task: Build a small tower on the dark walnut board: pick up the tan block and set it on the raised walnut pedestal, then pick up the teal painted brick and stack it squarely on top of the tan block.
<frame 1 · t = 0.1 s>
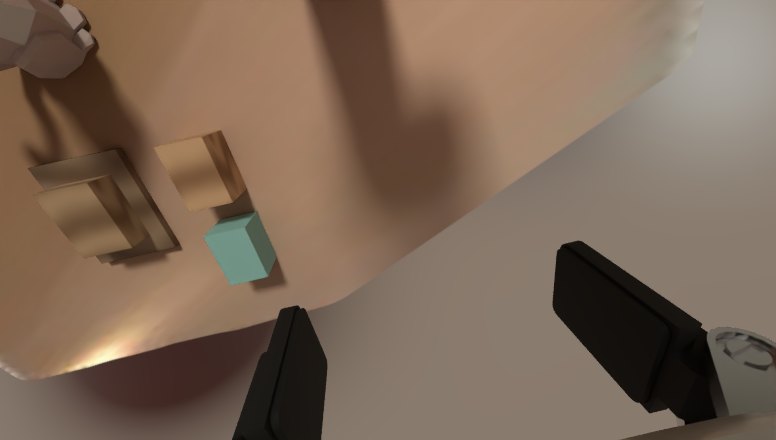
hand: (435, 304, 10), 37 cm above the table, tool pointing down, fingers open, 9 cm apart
tan block: (215, 164, 43), on the table
toy: (33, 46, 35), on the table
teal brick: (250, 238, 48), on the table
pedestal board: (113, 207, 44), on the table
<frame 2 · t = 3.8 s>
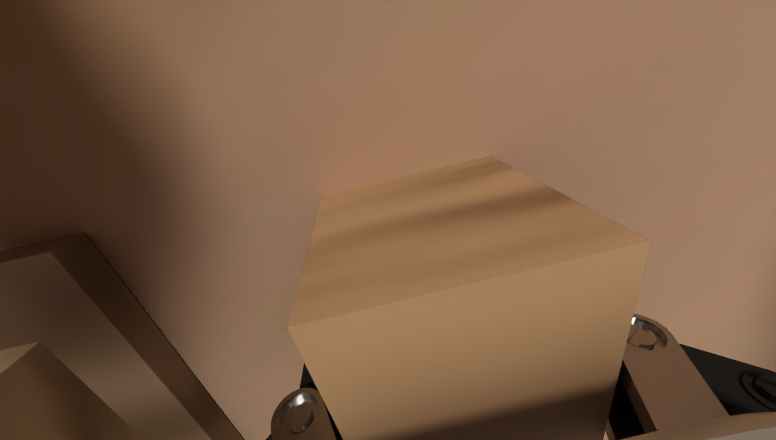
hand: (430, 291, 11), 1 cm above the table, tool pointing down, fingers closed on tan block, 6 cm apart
tan block: (425, 277, 12), on the table, touching gripper
pedestal board: (69, 413, 13), on the table
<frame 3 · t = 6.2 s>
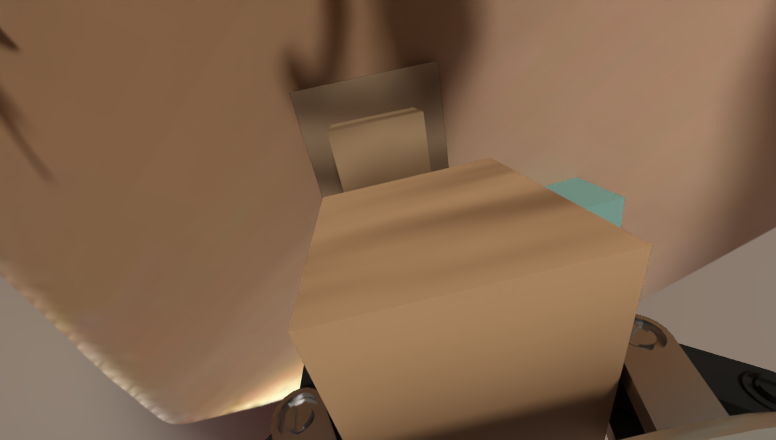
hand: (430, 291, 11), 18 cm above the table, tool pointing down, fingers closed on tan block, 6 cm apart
tan block: (425, 278, 12), point 17 cm above the table, touching gripper
teal brick: (548, 221, 32), on the table
pedestal board: (382, 169, 27), on the table
when the fingers open (7 cm above the table, at t = 8.6 s): tan block stays where it is, resting on pedestal board.
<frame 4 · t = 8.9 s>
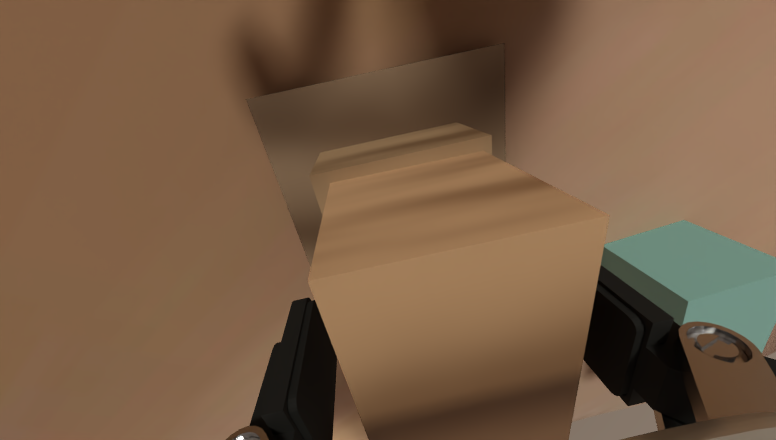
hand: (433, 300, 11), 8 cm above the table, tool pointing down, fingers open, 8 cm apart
tan block: (422, 262, 13), point 5 cm above the table, touching pedestal board
teal brick: (634, 279, 22), on the table
pedestal board: (401, 215, 18), on the table
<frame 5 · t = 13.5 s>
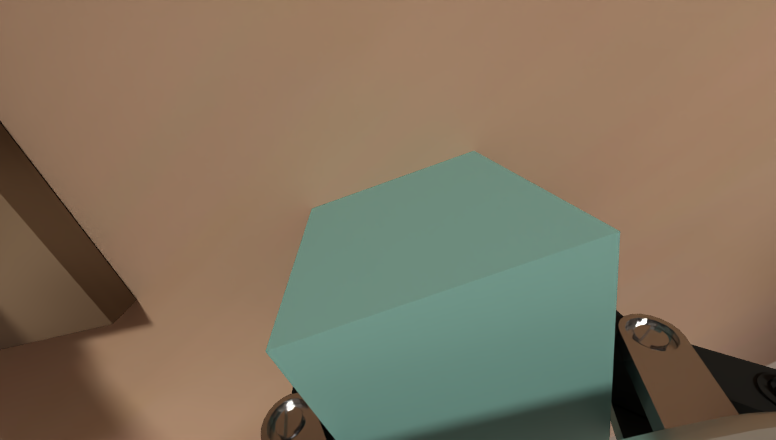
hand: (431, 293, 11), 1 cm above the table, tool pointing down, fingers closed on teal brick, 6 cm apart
teal brick: (425, 277, 12), on the table, touching gripper
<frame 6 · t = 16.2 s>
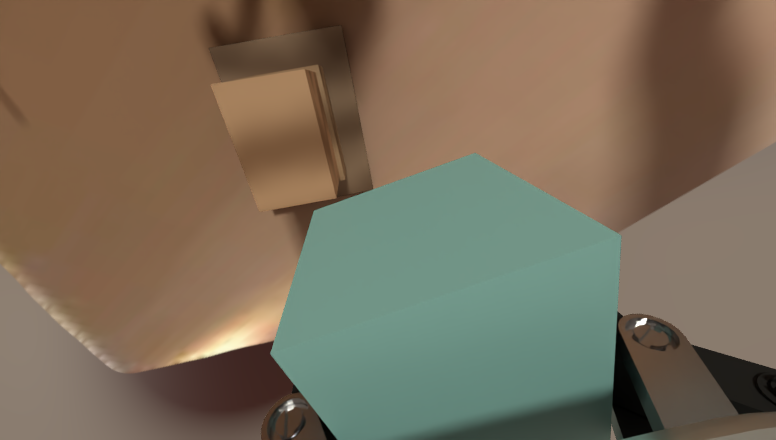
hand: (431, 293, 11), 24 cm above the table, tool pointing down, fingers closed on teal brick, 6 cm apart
tan block: (295, 133, 26), point 5 cm above the table, touching pedestal board
teal brick: (426, 278, 12), point 23 cm above the table, touching gripper
pedestal board: (303, 126, 30), on the table
when the fingers open (13 cm above the table, at t = 19.1 s): teal brick stays where it is, resting on tan block.
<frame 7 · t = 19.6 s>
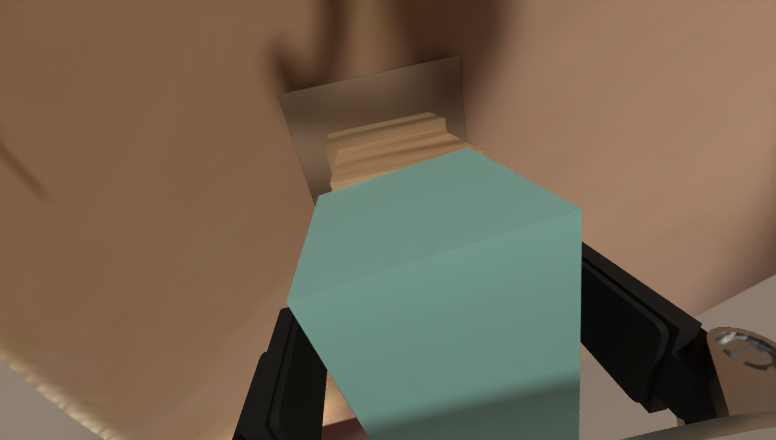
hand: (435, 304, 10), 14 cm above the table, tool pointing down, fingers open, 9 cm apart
tan block: (401, 210, 18), point 5 cm above the table, touching pedestal board, teal brick
teal brick: (420, 263, 13), point 11 cm above the table, touching tan block
pedestal board: (390, 184, 23), on the table
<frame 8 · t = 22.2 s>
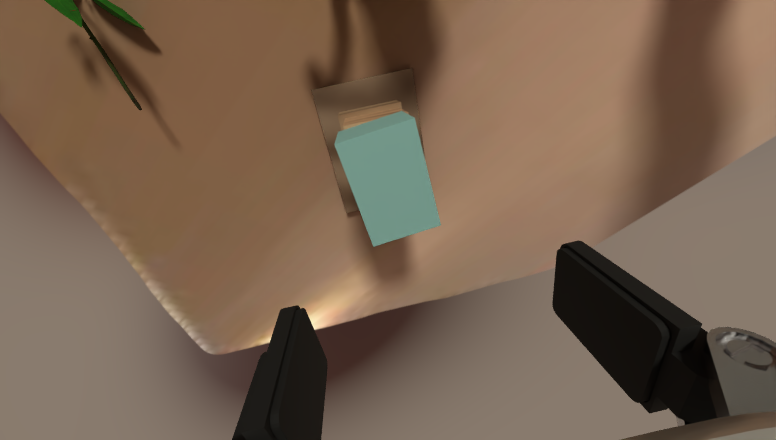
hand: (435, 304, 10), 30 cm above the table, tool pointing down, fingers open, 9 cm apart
tan block: (379, 153, 33), point 5 cm above the table, touching pedestal board, teal brick
teal brick: (384, 168, 28), point 11 cm above the table, touching tan block
pedestal board: (375, 145, 38), on the table
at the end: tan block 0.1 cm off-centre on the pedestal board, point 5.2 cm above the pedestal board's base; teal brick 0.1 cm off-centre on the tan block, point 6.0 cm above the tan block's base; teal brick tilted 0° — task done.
